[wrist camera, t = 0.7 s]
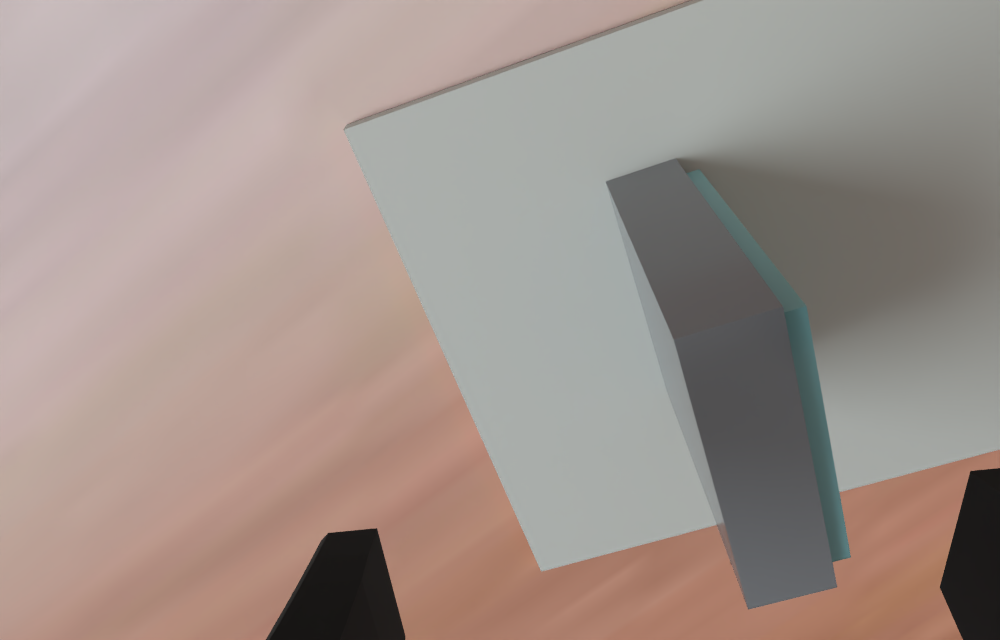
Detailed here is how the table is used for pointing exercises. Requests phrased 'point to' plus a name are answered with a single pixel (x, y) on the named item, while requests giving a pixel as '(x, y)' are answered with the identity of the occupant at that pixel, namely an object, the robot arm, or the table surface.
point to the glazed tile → (736, 380)
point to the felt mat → (757, 204)
